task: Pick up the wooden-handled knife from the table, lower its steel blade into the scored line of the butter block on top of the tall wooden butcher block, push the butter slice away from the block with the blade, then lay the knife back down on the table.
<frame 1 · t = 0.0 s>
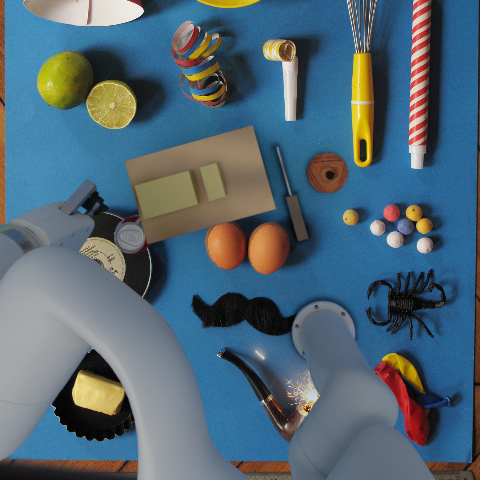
hand: (77, 233, 55), 31 cm above the table, tool pointing down, fingers open, 9 cm apart
butter slice: (214, 180, 62), point 23 cm above the table, touching cutting board
butter block: (170, 192, 63), point 23 cm above the table, touching cutting board
cutting board: (213, 177, 85), on the table
pot: (324, 172, 85), on the table
knife: (295, 215, 85), on the table
soda can: (146, 226, 86), on the table
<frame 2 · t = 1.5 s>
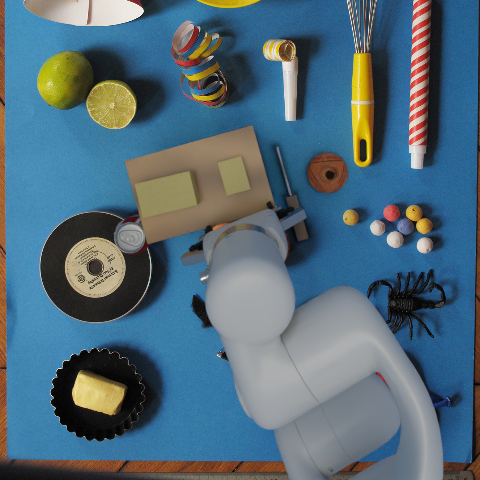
hand: (242, 223, 62), 23 cm above the table, tool pointing down, fingers open, 9 cm apart
butter slice: (222, 178, 61), point 24 cm above the table, tilted 90°, touching cutting board
everything else where it was.
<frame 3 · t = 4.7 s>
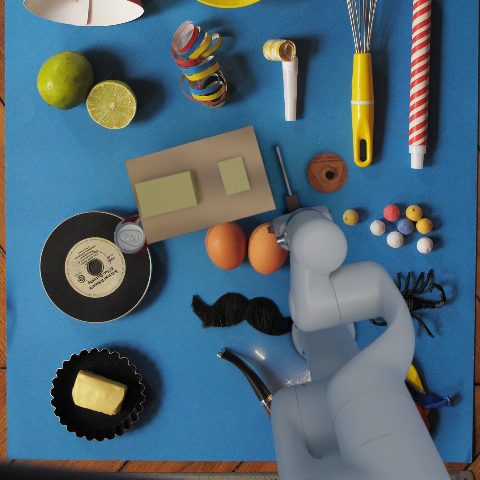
hand: (295, 216, 85), 0 cm above the table, tool pointing down, fingers closed on knife, 2 cm apart
knife: (295, 215, 85), on the table, touching gripper
everything else where it was.
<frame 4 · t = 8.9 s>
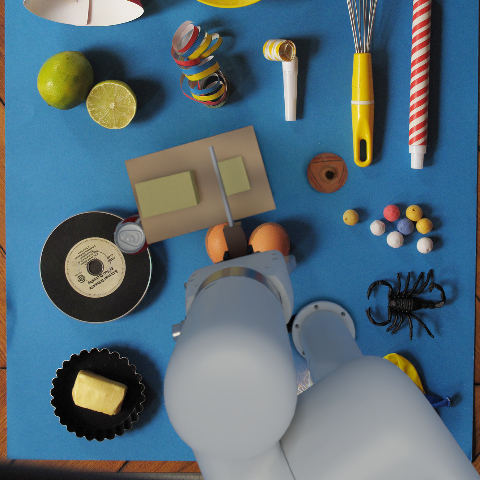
hand: (241, 259, 52), 33 cm above the table, tool pointing down, fingers closed on knife
knife: (241, 257, 53), point 32 cm above the table, touching gripper
everything else where it was.
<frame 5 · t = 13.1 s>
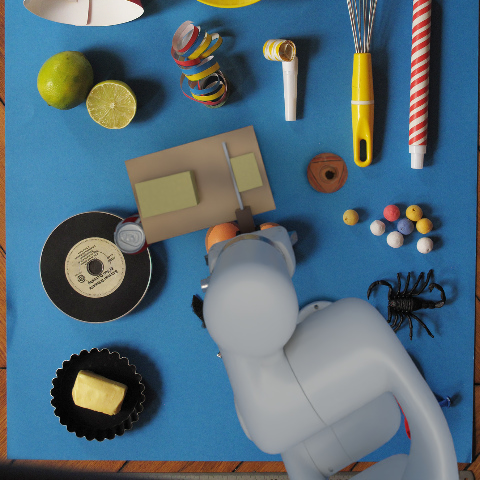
hand: (251, 238, 61), 24 cm above the table, tool pointing down, fingers closed on knife, 2 cm apart
butter slice: (234, 175, 61), point 24 cm above the table, tilted 90°, touching cutting board, knife
knife: (250, 236, 62), point 23 cm above the table, touching butter slice, gripper
everything else where it was.
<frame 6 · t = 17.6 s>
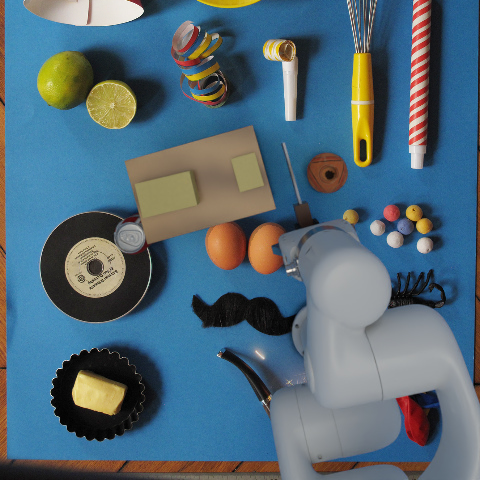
hand: (307, 230, 67), 18 cm above the table, tool pointing down, fingers closed on knife, 2 cm apart
butter slice: (235, 175, 61), point 24 cm above the table, tilted 90°, touching cutting board
knife: (306, 228, 68), point 17 cm above the table, touching gripper
everything else where it was.
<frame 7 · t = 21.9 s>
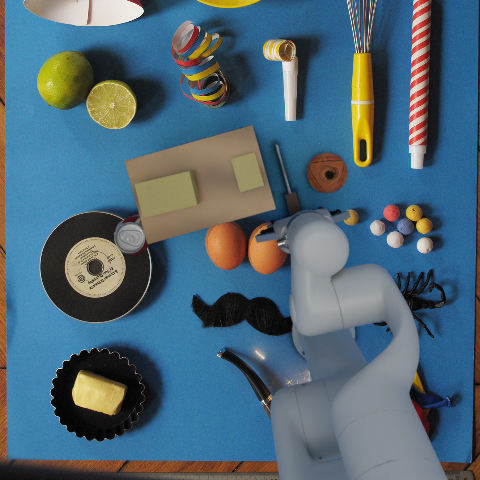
hand: (297, 220, 82), 3 cm above the table, tool pointing down, fingers open, 9 cm apart
knife: (295, 213, 85), on the table
everything else where it was.
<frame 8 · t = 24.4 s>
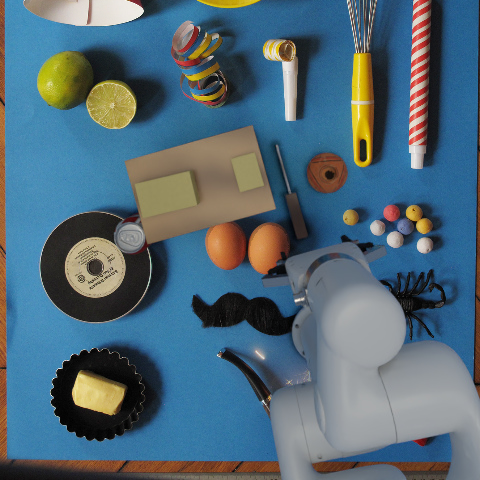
hand: (314, 252, 65), 20 cm above the table, tool pointing down, fingers open, 9 cm apart
nothing on the table moved.
at the end: butter slice inside the target area on the cutting board (1.1 cm from its centre), point 24.2 cm above the cutting board's base; butter slice moved 3.5 cm from its start; the gripper is holding nothing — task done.
